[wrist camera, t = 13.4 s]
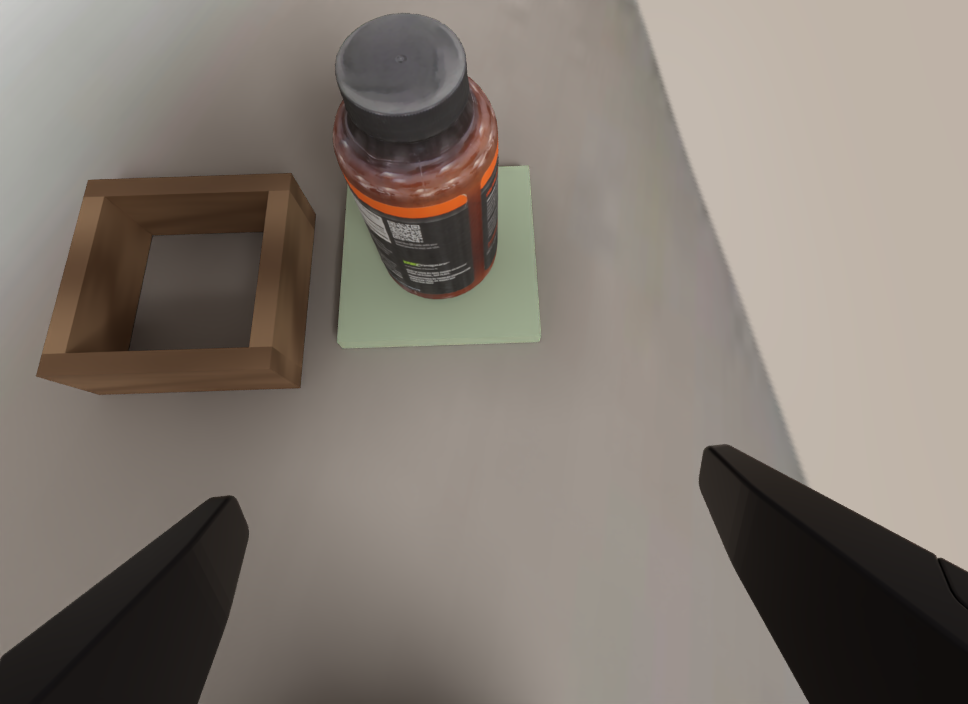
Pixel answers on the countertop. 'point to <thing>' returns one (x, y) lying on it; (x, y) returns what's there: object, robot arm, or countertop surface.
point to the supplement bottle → (419, 153)
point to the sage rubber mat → (453, 321)
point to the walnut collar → (120, 270)
